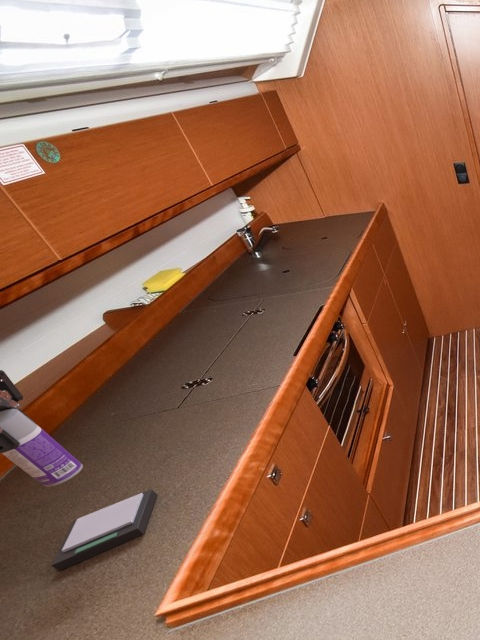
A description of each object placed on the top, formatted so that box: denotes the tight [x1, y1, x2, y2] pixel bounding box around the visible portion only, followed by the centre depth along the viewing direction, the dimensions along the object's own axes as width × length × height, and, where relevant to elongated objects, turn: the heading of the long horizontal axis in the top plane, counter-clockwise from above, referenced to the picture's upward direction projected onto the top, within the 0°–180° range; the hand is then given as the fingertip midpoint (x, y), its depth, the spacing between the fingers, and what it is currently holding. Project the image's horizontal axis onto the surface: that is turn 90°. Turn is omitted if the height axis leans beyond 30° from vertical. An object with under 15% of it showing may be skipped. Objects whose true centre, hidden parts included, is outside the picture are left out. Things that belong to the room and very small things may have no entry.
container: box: [0, 409, 84, 488], centre depth 70 cm, size 5×5×15 cm
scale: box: [51, 488, 158, 572], centre depth 80 cm, size 11×10×3 cm
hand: (17, 438), depth 69 cm, fingers closed on container, 4 cm apart
